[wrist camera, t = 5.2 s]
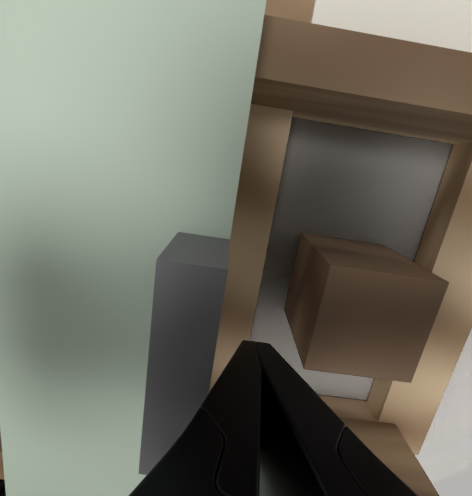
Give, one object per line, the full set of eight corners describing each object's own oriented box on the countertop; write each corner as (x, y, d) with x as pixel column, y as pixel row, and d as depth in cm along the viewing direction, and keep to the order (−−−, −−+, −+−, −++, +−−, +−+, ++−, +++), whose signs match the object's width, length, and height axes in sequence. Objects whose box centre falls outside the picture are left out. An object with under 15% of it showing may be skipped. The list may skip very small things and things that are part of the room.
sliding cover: (187, 512, 13) (172, 627, 10) (21, 495, 13) (-51, 608, 9) (267, -13, 8) (290, -135, 4) (-14, -65, 7) (-204, -238, 4)
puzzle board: (404, 432, 19) (469, 537, 14) (33, 387, 18) (-51, 482, 13) (633, -150, 11) (987, -426, 6) (5, -289, 10) (-243, -775, 5)
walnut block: (360, 319, 17) (411, 382, 12) (283, 308, 17) (303, 369, 12) (383, 244, 16) (449, 282, 11) (300, 232, 15) (330, 264, 11)
